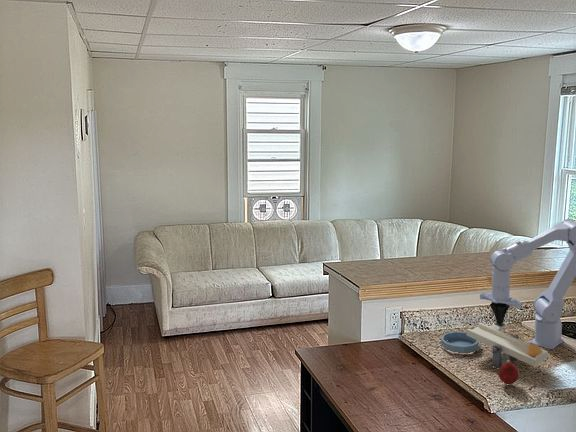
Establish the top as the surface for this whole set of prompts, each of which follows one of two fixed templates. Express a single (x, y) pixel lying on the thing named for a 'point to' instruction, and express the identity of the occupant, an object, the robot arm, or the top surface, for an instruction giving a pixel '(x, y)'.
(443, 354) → the top surface
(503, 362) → the stand
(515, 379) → the onion
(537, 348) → the ball
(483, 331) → the lever
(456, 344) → the blue bowl
